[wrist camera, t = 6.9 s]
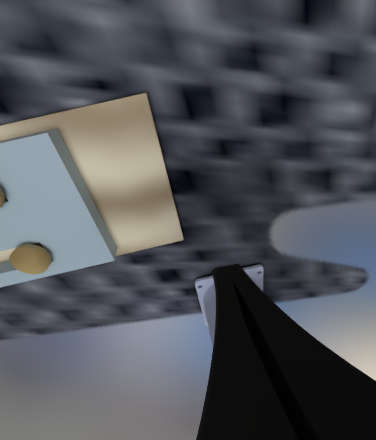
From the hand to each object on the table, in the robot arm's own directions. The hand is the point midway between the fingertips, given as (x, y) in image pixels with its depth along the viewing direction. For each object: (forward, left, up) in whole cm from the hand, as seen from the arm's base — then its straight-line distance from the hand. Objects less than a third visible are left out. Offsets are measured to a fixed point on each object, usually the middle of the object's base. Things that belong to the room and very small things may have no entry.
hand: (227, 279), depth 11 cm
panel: (+2, +15, -8) cm, 17 cm away
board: (+2, +12, -9) cm, 15 cm away
